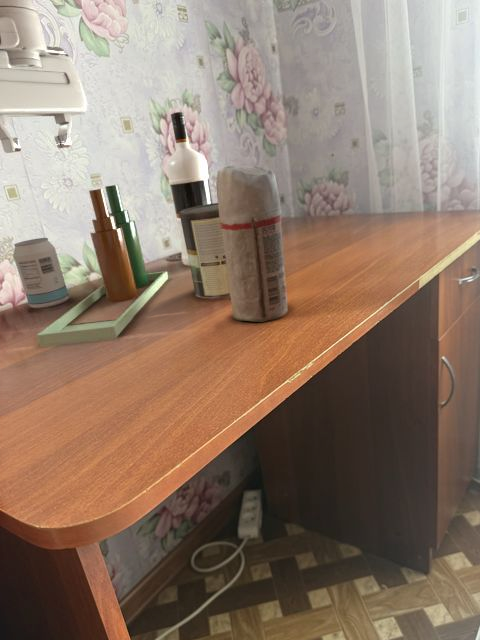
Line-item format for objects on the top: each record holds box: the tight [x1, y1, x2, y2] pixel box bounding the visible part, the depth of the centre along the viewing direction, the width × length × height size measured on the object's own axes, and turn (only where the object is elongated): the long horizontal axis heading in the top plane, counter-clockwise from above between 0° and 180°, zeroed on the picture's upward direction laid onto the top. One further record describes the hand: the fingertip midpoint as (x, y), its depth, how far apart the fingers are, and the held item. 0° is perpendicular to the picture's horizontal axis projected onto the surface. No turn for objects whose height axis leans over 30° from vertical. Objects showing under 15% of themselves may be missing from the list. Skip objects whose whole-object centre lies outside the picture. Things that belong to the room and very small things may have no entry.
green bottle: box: [104, 184, 150, 290], centre depth 91 cm, size 5×5×18 cm
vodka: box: [165, 111, 213, 266], centre depth 103 cm, size 9×9×30 cm
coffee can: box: [179, 202, 230, 299], centre depth 82 cm, size 10×10×14 cm
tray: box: [36, 270, 169, 348], centre depth 83 cm, size 11×31×2 cm, turn 177°
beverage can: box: [12, 237, 70, 310], centre depth 89 cm, size 7×7×12 cm
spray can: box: [215, 165, 289, 323], centre depth 67 cm, size 8×8×20 cm
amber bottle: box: [88, 187, 139, 303], centre depth 84 cm, size 5×5×18 cm
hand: (40, 149), depth 73 cm, fingers open, 8 cm apart
